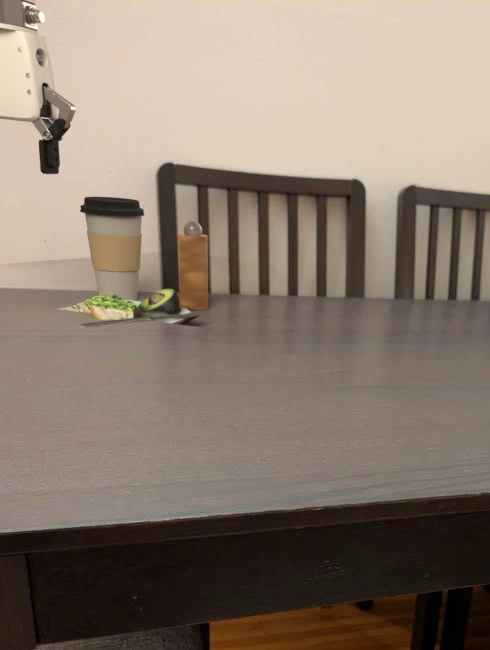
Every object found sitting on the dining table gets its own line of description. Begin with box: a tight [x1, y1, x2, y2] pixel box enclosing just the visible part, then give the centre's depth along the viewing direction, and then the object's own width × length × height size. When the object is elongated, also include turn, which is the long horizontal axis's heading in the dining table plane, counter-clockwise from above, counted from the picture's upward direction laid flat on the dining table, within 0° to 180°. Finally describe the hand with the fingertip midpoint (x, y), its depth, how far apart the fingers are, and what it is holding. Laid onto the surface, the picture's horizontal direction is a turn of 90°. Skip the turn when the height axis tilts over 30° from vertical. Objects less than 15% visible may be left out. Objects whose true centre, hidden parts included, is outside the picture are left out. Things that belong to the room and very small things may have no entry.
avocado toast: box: [59, 288, 203, 329], centre depth 99 cm, size 19×18×5 cm
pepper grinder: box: [177, 220, 209, 311], centre depth 113 cm, size 4×4×13 cm
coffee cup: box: [79, 196, 145, 301], centre depth 114 cm, size 9×9×15 cm
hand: (16, 169), depth 96 cm, fingers open, 9 cm apart
